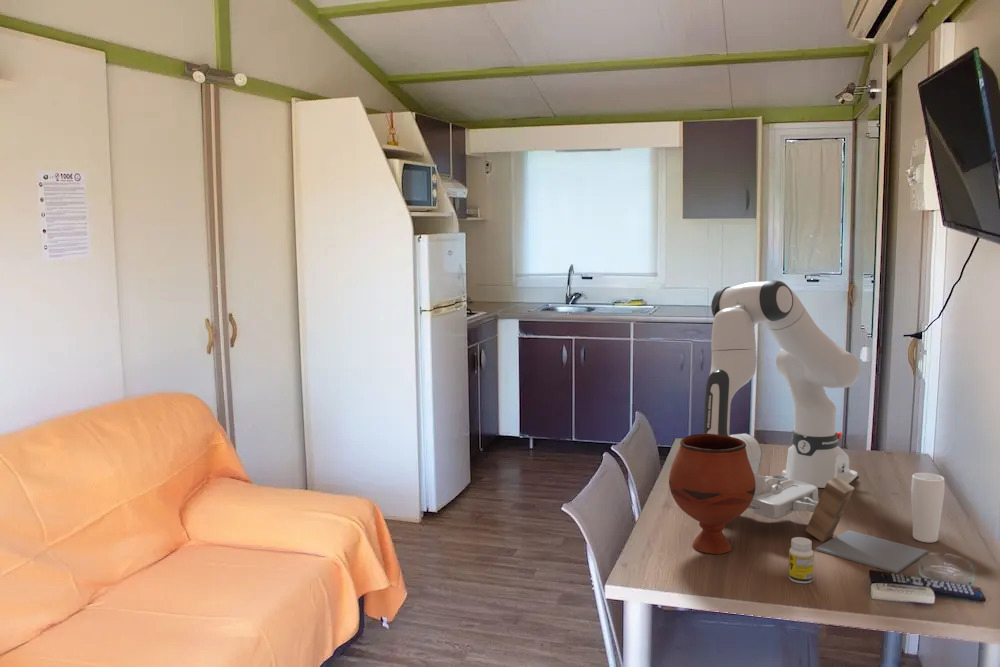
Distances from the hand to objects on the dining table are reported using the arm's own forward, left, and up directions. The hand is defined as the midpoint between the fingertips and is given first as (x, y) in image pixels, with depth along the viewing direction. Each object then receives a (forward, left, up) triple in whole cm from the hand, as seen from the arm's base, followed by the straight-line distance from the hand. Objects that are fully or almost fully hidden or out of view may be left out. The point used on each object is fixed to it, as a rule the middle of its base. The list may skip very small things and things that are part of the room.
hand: (817, 507), depth 197 cm
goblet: (+23, -14, -7) cm, 28 cm away
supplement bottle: (+25, +9, -7) cm, 28 cm away
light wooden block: (0, 0, -6) cm, 6 cm away
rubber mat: (0, +13, -7) cm, 15 cm away
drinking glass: (-16, +18, -7) cm, 25 cm away
